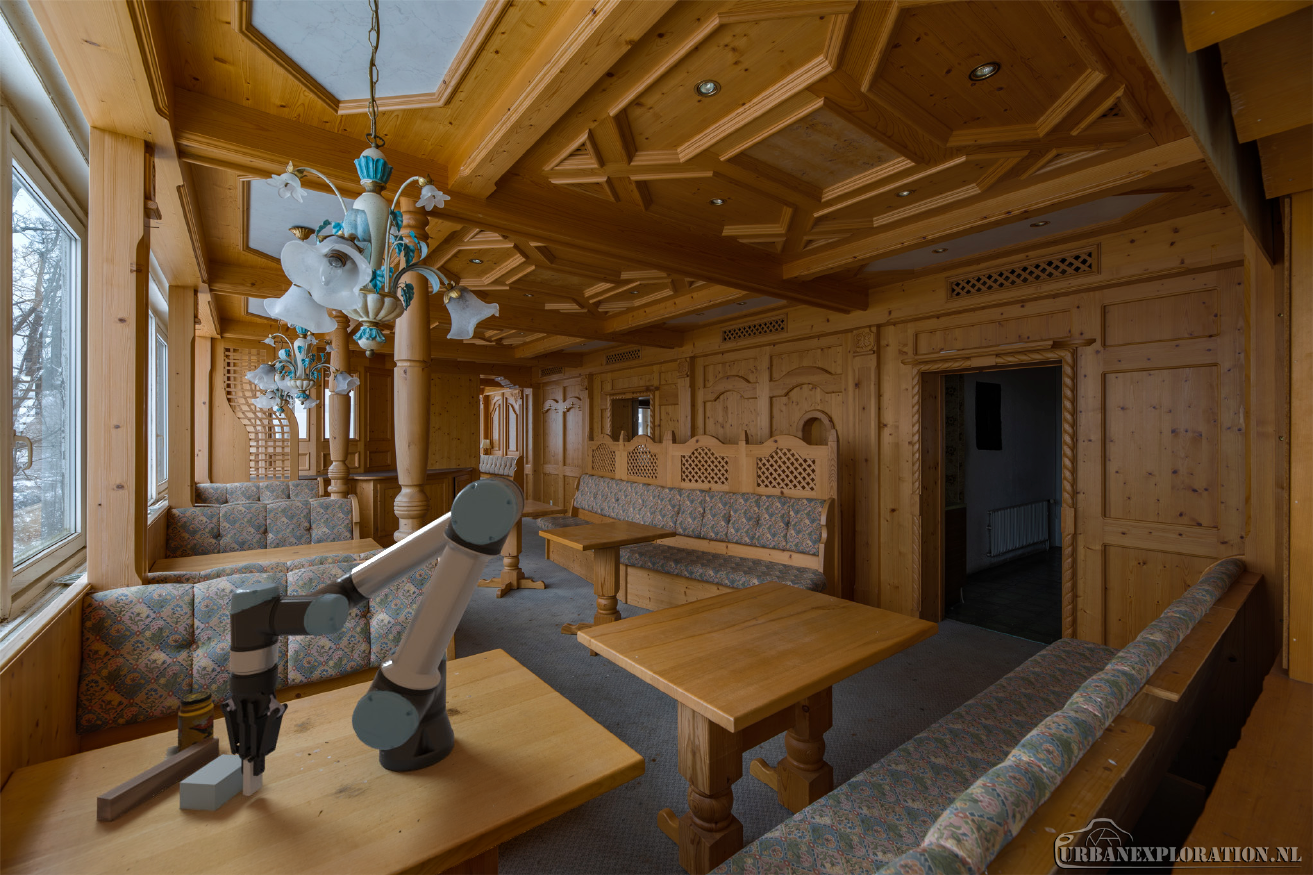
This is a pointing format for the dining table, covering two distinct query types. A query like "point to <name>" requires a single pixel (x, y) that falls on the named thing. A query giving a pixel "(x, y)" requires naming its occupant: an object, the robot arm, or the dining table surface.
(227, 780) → the block
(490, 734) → the dining table surface
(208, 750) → the board
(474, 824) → the dining table surface
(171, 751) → the condiment
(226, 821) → the dining table surface
